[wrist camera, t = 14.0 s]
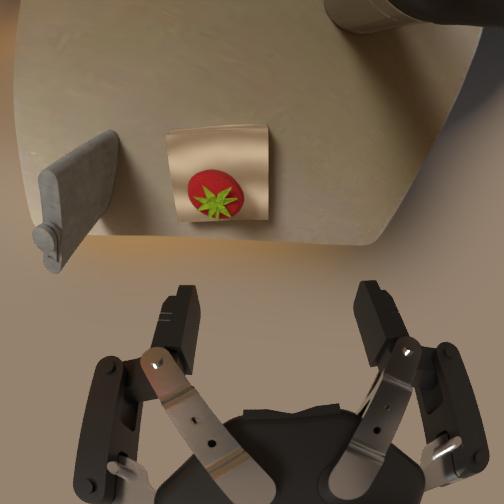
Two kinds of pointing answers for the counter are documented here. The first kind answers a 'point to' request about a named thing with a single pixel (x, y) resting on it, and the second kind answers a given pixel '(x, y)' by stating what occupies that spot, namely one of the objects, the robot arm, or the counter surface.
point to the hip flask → (75, 197)
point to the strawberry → (215, 194)
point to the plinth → (221, 165)
